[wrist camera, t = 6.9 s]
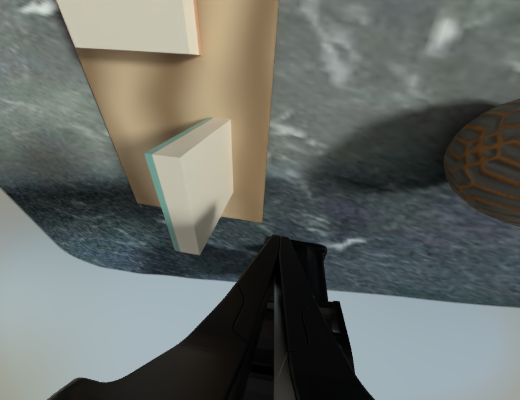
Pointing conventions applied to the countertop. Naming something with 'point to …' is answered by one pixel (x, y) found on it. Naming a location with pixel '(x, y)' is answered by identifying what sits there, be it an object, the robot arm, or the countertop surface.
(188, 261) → the countertop surface
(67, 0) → the terracotta tile
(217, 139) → the teal tile
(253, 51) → the cork mat
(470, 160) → the vase
